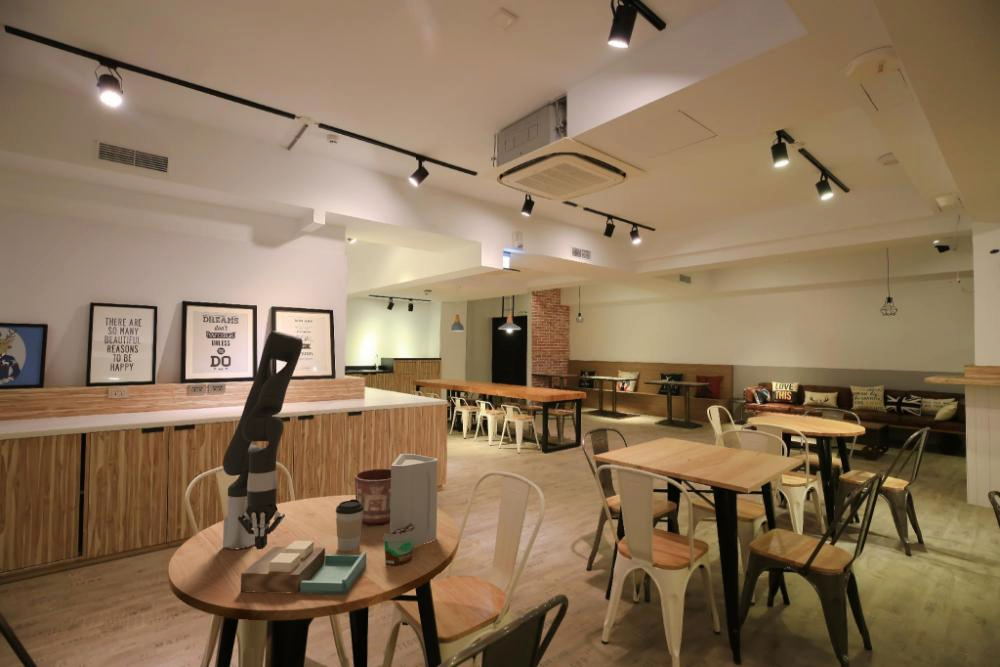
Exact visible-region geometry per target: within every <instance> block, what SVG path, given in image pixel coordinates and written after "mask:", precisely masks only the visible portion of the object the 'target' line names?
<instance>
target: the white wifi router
mask: <svg viewBox="0 0 1000 667" xmlns="http://www.w3.org/2000/svg"><path fill="white" fill-rule="evenodd" d="M390 467H391V468H390V469H391V502H390V522H389V534H391V533H392V532H394V531H395V530H397V529H401V528H404V527H407V526H409V523H412V524H414V526H415V528H416V535H415V536H414V541H413V548H416V547H415V546H417V547H419V546H418V545H420V546H422V545H421V544H424V543H427V542H430V541H433V540H437V528H438V527H437V526H438V525H437V524H438V523H437V522H438V520H437V518H438V516H437V515H438V478H439V477H438V473H439V459H438V458H436V457H430V456H426V455H420V454H414V453H401V454H399V455H398V456H397V458H396V459H395V460H394V461H393V462H392V464H391V466H390ZM430 543H431V542H430ZM427 544H428V543H427ZM424 545H425V544H424Z"/></svg>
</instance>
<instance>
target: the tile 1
mask: <svg viewBox="0 0 1000 667" xmlns="http://www.w3.org/2000/svg"><path fill="white" fill-rule="evenodd" d="M300 558H301V554H299V553H280V554H278V555H277V556H276V557H275V558H274V559H273V560H271V561H270V563H269V571H274V572H291V571H292V570H293V569H294V568H295V567H296V566H297V565H298V564H299V563H300Z"/></svg>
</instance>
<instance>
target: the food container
mask: <svg viewBox="0 0 1000 667" xmlns="http://www.w3.org/2000/svg"><path fill="white" fill-rule="evenodd" d="M415 535H416V528H415V526H414V524H412V523H409V526H407V527H404V528H401V529H397V530H395V531H394V532H392V533H391V534H390V533H383V537H382V541H383V542H384V545H383V546H384V559H385V565H386V566H388V567H400V566H399V565H401V566H404V564H405V565H407V564H409V563H411V561H413V560H412V558H413V550H414V549H413V548H414V547H413V541H414V536H415ZM389 565H390V566H389Z"/></svg>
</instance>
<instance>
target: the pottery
mask: <svg viewBox="0 0 1000 667" xmlns="http://www.w3.org/2000/svg"><path fill="white" fill-rule="evenodd" d="M354 484H355V486H354V487H355V499H356V500H358V501H359V502H360V504H362V505H363V508H364V509H363V513H362V516H363V519H362V524H364V525H368V526H380V524H382V525H385V524H384V523H386V524H388V523H390V522H389V521H390V502H391V468H374V469H367V470H362V471H360V472H357V473H356V474H355V476H354ZM387 522H388V523H387Z"/></svg>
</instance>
